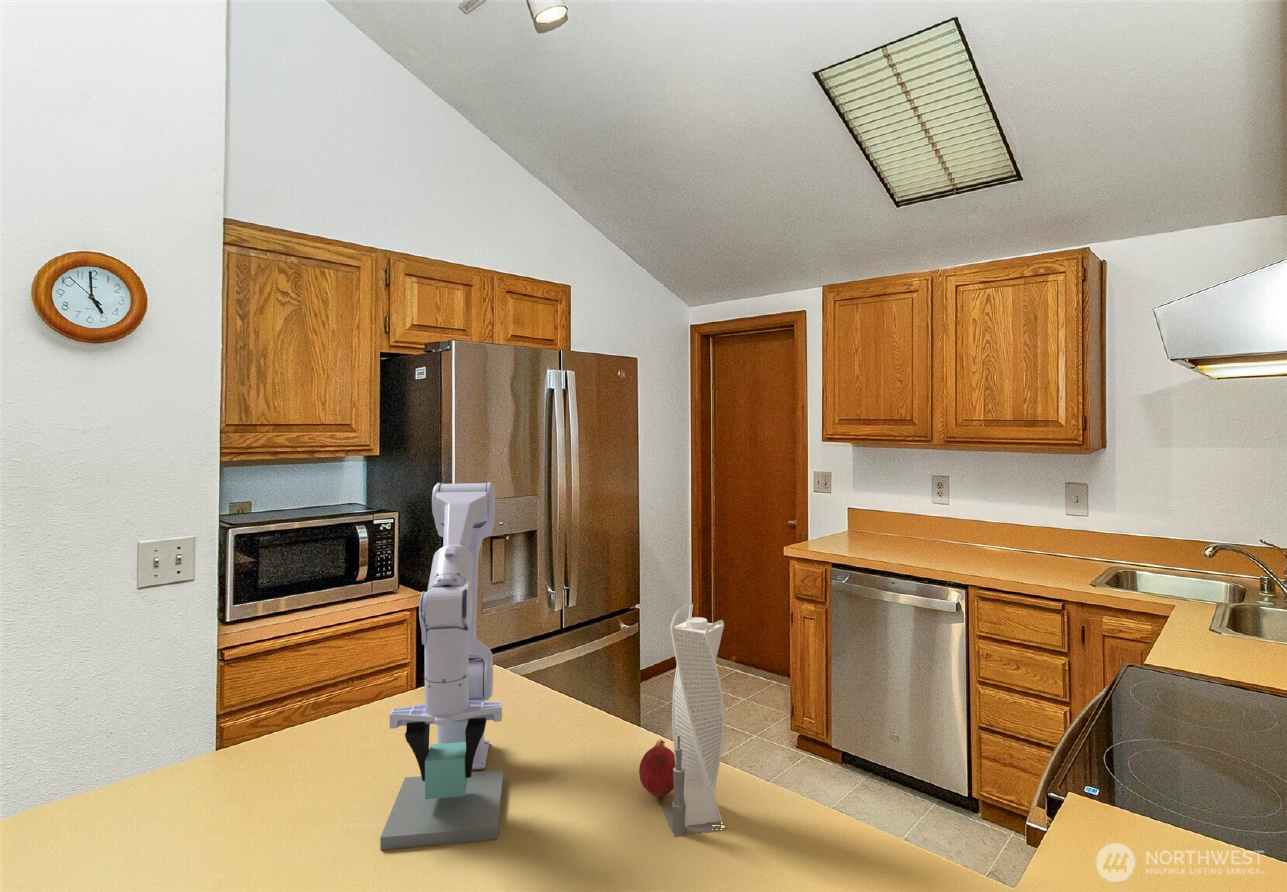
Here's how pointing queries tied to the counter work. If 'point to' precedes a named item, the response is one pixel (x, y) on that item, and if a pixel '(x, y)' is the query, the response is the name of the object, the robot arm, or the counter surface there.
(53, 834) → the counter surface
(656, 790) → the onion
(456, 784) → the cube
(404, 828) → the cutting board
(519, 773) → the counter surface
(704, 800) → the skyscraper
